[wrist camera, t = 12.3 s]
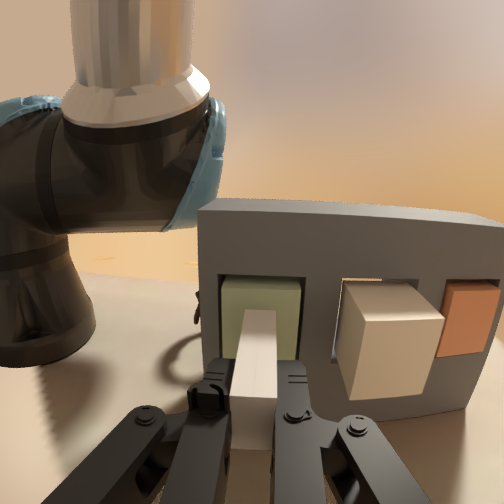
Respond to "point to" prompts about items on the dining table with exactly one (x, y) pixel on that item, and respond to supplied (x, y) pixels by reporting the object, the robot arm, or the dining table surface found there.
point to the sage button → (260, 298)
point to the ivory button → (385, 339)
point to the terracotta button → (466, 316)
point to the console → (349, 266)
